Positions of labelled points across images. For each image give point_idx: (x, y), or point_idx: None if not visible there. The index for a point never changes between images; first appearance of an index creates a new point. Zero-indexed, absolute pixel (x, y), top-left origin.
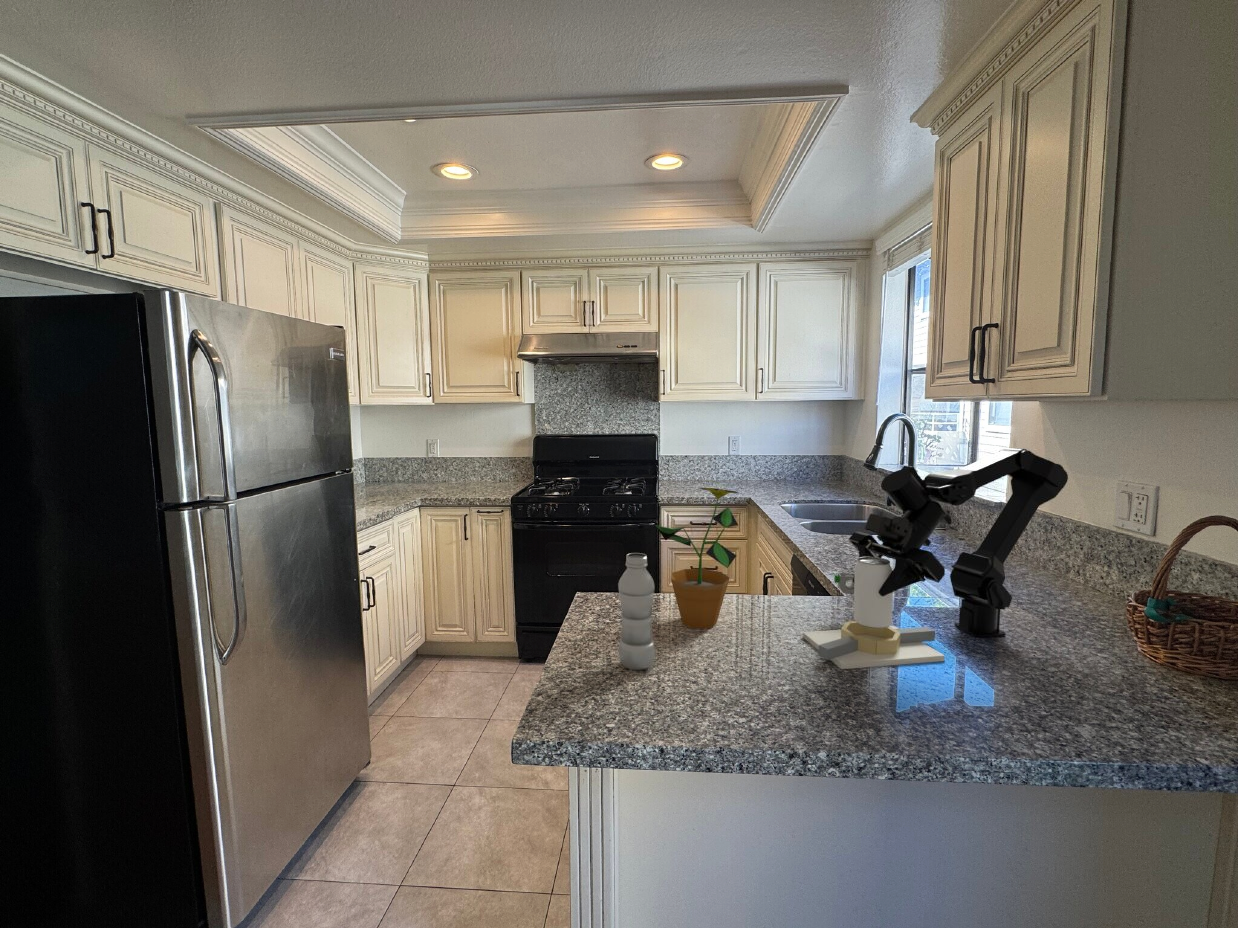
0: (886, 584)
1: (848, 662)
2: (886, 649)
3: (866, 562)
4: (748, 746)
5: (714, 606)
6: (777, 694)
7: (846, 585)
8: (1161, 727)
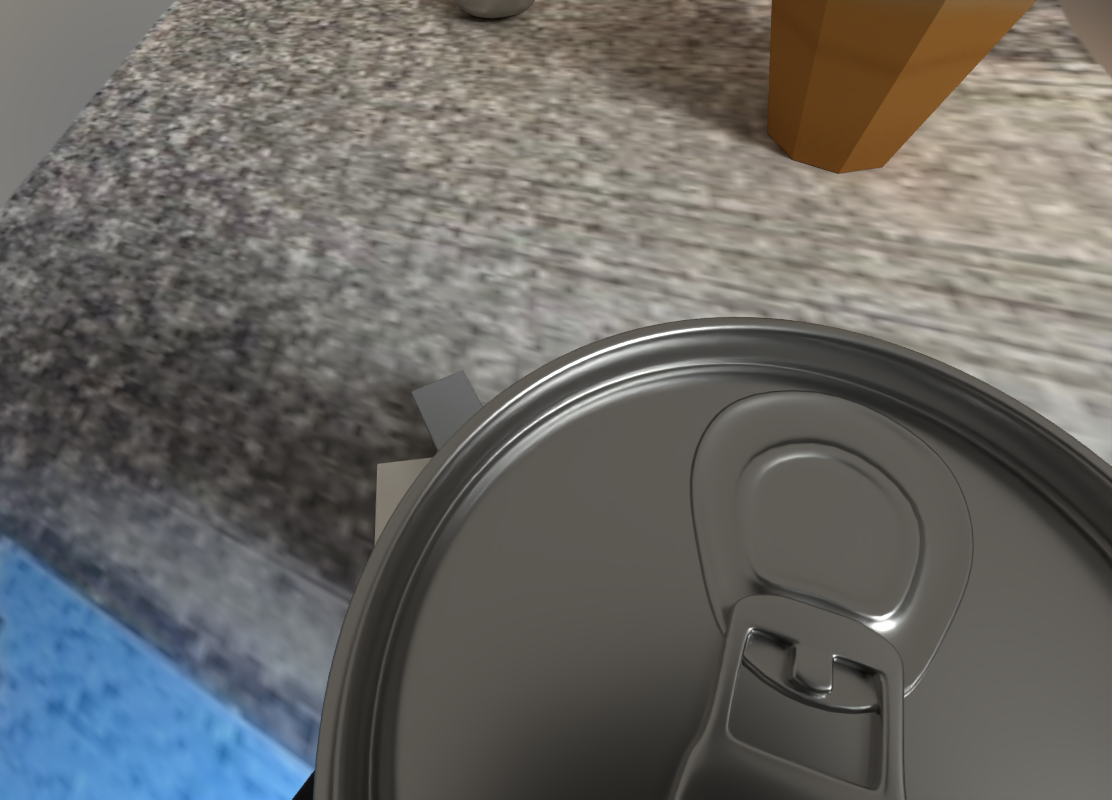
0: (309, 785)
1: (381, 499)
2: None
3: (734, 488)
4: (74, 131)
5: (799, 69)
6: (266, 227)
7: None
8: None
